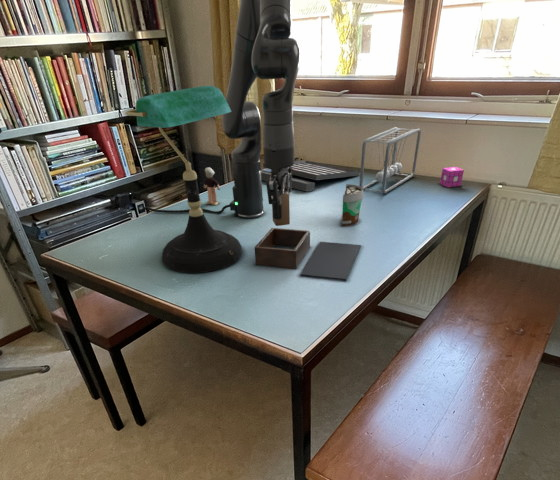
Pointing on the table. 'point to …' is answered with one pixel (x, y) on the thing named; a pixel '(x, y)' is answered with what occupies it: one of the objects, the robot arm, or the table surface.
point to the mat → (331, 261)
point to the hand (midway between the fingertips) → (280, 214)
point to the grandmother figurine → (211, 186)
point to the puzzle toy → (451, 177)
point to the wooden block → (283, 211)
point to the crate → (282, 256)
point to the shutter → (312, 173)
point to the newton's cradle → (394, 167)
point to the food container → (351, 204)
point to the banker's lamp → (190, 179)
